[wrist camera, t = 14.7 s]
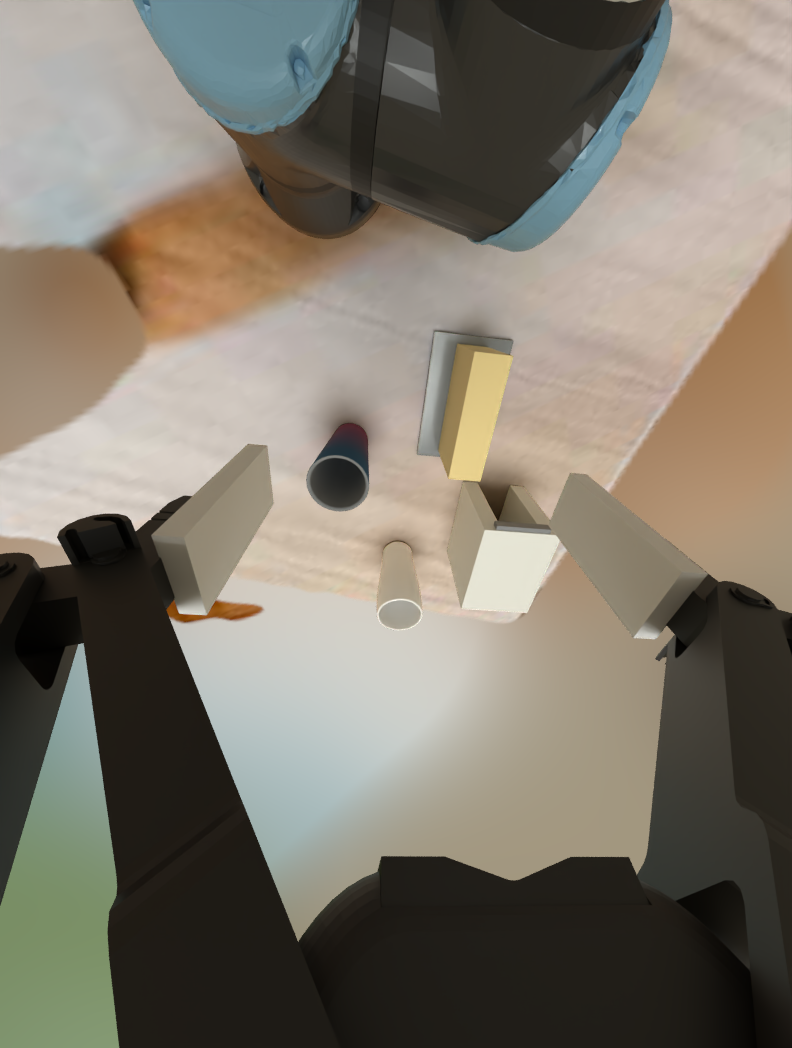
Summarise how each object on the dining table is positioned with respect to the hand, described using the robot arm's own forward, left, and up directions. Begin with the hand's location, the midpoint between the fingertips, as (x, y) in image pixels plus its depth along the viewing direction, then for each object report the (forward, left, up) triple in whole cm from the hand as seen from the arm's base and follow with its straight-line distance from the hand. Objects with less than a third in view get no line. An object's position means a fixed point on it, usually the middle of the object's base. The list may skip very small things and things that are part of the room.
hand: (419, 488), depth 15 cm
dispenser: (+22, +17, -35) cm, 44 cm away
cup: (+10, -6, -35) cm, 37 cm away
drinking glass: (+30, +3, -35) cm, 46 cm away
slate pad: (+3, +9, -35) cm, 36 cm away
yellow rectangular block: (+3, +9, -34) cm, 35 cm away
